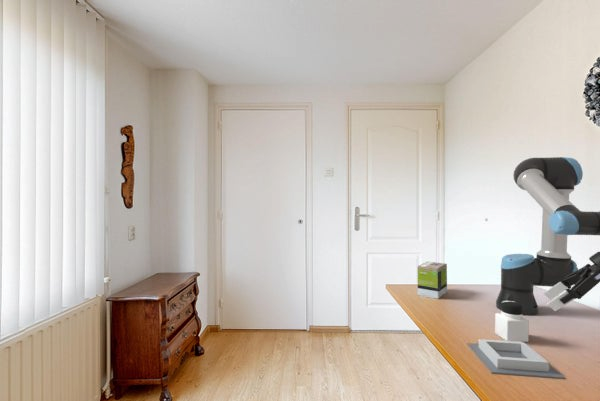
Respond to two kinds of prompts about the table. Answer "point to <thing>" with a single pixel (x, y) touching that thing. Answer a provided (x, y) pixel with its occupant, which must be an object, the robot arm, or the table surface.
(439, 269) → the tea box
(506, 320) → the medicine bottle
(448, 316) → the table surface
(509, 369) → the collar plate
